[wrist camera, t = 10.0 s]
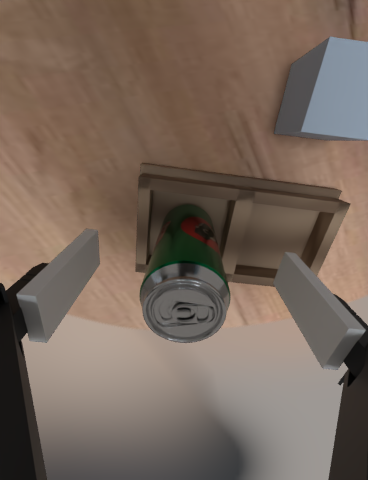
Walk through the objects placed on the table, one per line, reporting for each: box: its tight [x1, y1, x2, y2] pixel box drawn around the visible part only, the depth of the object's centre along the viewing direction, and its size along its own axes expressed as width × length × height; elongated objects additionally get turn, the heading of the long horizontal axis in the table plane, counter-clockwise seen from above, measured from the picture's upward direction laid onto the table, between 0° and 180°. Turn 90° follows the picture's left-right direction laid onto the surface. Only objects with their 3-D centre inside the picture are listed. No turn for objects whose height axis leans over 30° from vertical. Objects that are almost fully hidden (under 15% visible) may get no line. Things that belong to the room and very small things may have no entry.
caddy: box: [136, 163, 350, 287], centre depth 22 cm, size 11×19×3 cm, turn 83°
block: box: [274, 37, 368, 140], centre depth 16 cm, size 5×5×5 cm
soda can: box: [140, 204, 230, 343], centre depth 16 cm, size 5×5×12 cm
